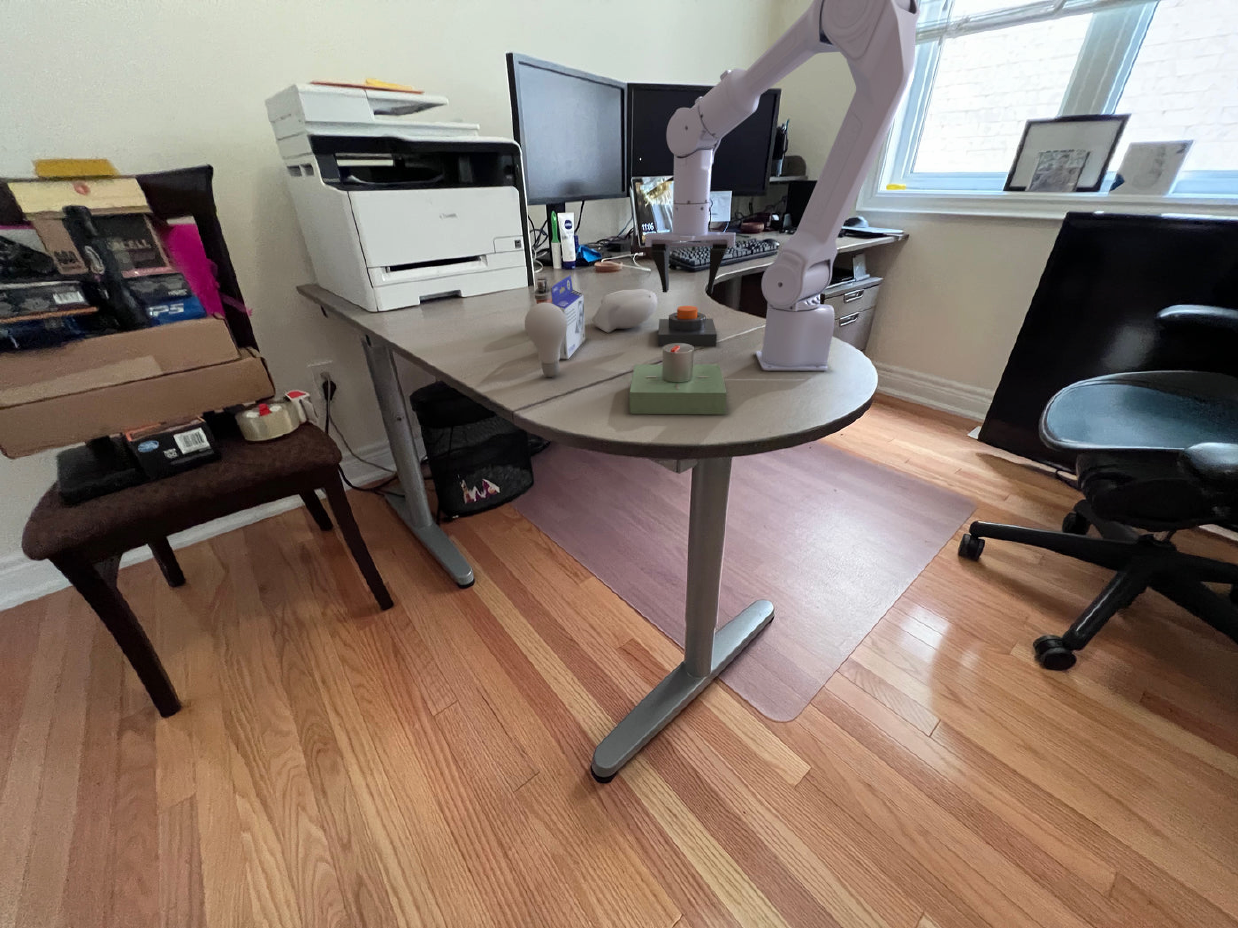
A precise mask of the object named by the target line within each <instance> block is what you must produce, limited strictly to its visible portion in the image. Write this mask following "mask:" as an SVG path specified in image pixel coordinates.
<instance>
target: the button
mask: <svg viewBox="0 0 1238 928" xmlns="http://www.w3.org/2000/svg"><path fill="white" fill-rule="evenodd" d="M698 310H699V309H698V307H697V306H693V305H681V306H678V307H676V312H677V318H679V319H695V318H697V312H698Z"/></svg>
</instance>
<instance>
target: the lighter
mask: <svg viewBox="0 0 1238 928" xmlns="http://www.w3.org/2000/svg"><path fill="white" fill-rule="evenodd" d="M536 279H537V280H536V281H537V282H536V285H537V289H535V290H534V299H535V301H536V304H539V303H551V304H552V298H551V287H552V285H551V286H550V285H549V284H548V283H549V275H547V274H545V273H544V274H542V275H541V276H537V278H536Z"/></svg>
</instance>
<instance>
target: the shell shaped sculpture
mask: <svg viewBox="0 0 1238 928" xmlns="http://www.w3.org/2000/svg"><path fill="white" fill-rule="evenodd" d="M657 307H658V296H657V295H656V293H655V292H654V291H650V290H648V289H644V288H636V289H635V288H634V289H622V290H621V289H620V290H618V291H614V292H610V293H608V294H605V295H603V296H602V298H601V301H600V306H599V307H598V309H597V310H596V312H595V314H594V315H593V316H592V317H591V321H592V323H593V325H594V326H595V327H597V328H598V329H600V330H601V331H603V332H606V333H608V334H609V333H611V332H613V331H614V330H617V329H633V328H635V327H637V326H639V325H640V324H642V323H644V322H646V321H647V320H648V319H649V318H651V317H652V315H653V314H654V313H655V311H656V309H657Z"/></svg>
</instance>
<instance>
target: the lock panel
mask: <svg viewBox="0 0 1238 928" xmlns="http://www.w3.org/2000/svg"><path fill="white" fill-rule="evenodd" d="M630 383H631V384H630V388H629V414H630V415H721V416H722V415H726V407H727V406H726V405H727V394H728V393H727V388H726V385H725V379H724V376H723V372H722V367H721V364H693V377H692V379H691V380H689V381H687V382H681V383H674V382H668V381H666V380H664V379H663V378H662V364H634V365H633V371H632V377H631V382H630Z"/></svg>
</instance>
